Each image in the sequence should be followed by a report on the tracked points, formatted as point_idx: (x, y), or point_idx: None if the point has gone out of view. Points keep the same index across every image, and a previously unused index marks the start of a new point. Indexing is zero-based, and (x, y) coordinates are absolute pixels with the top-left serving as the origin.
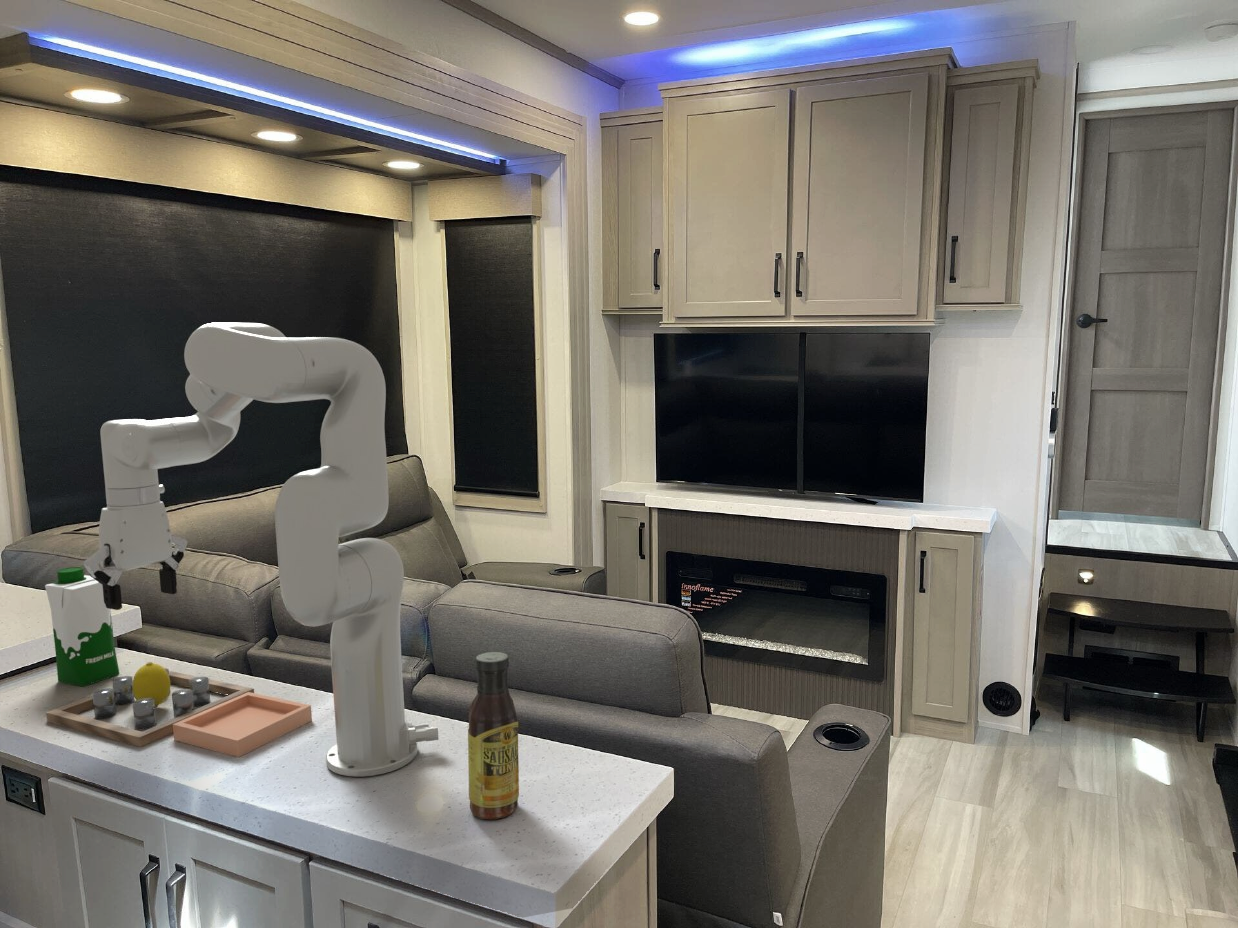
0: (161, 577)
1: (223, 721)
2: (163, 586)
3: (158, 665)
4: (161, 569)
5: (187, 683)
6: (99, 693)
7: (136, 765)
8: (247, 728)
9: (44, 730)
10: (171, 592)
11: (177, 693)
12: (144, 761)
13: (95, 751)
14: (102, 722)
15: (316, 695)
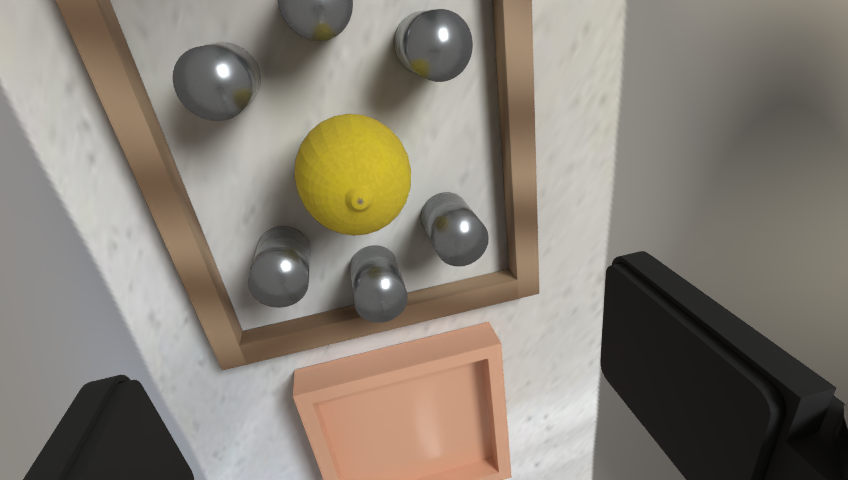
0: (698, 363)
1: (394, 390)
2: (634, 325)
3: (384, 210)
4: (788, 426)
5: (500, 64)
6: (195, 92)
7: (189, 425)
8: (402, 446)
9: (26, 26)
10: (605, 369)
11: (370, 296)
12: (208, 419)
13: (134, 306)
14: (177, 211)
15: (589, 364)
